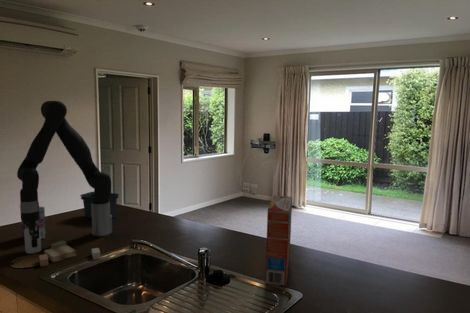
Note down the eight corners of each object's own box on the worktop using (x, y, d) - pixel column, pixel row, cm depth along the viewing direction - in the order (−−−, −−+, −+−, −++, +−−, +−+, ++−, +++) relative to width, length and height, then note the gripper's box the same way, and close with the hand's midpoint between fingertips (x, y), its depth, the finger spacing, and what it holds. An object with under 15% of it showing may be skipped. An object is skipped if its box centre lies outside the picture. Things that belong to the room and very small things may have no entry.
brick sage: (62, 246, 176) (61, 240, 175) (66, 247, 174) (66, 241, 174) (51, 250, 170) (50, 244, 170) (55, 251, 169) (55, 245, 169)
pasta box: (285, 286, 140) (289, 211, 136) (265, 283, 142) (267, 209, 138) (289, 261, 163) (292, 196, 158) (271, 260, 164) (273, 195, 160)
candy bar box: (46, 237, 186) (45, 206, 184) (38, 241, 181) (36, 209, 179) (31, 234, 190) (29, 204, 188) (22, 237, 185) (20, 206, 183)
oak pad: (66, 249, 171) (66, 244, 171) (76, 255, 164) (75, 250, 164) (44, 255, 164) (44, 250, 163) (53, 262, 157) (52, 257, 157)
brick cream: (93, 259, 161) (100, 258, 162) (93, 253, 161) (100, 252, 162) (91, 254, 166) (98, 253, 168) (91, 248, 166) (98, 247, 167)
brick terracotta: (39, 261, 158) (39, 255, 158) (47, 260, 160) (46, 253, 159) (40, 267, 153) (40, 260, 153) (48, 265, 155) (48, 258, 154)
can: (34, 254, 165) (32, 229, 163) (22, 253, 166) (20, 228, 164) (44, 249, 171) (43, 224, 169) (32, 248, 172) (31, 223, 171)
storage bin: (78, 218, 218) (77, 195, 216) (96, 211, 233) (95, 189, 231) (107, 222, 211) (106, 198, 209) (123, 215, 226) (123, 193, 224)
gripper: (44, 211, 164) (46, 247, 166) (33, 205, 173) (35, 238, 175) (26, 215, 158) (28, 251, 160) (15, 208, 168) (17, 242, 170)
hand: (31, 244), depth 168 cm, fingers closed on can, 6 cm apart
